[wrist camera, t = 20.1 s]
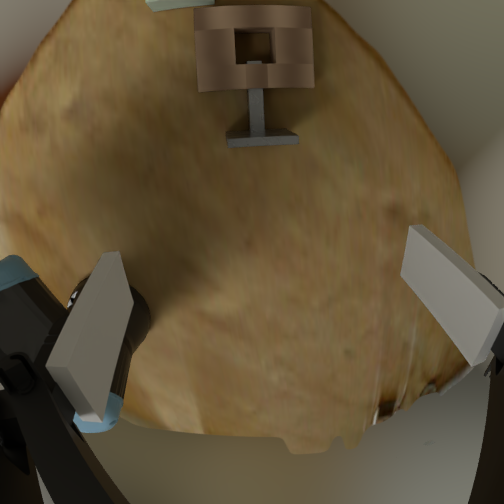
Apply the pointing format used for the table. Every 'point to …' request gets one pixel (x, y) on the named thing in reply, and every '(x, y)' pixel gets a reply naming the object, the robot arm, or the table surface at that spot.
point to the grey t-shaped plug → (259, 125)
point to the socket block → (253, 21)
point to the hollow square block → (175, 4)
